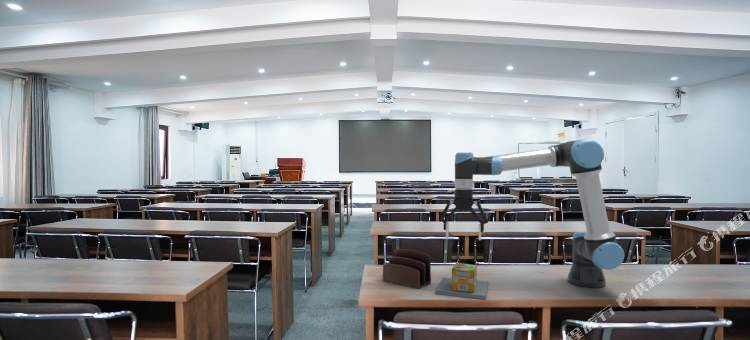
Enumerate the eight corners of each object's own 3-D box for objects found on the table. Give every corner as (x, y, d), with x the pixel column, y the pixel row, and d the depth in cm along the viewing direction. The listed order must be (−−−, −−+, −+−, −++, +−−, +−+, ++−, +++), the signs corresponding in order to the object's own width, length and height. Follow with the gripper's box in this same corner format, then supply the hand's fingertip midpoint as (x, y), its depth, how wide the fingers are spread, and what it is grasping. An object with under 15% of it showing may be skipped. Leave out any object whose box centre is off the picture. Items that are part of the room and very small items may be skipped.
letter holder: (395, 276, 191) (395, 246, 191) (431, 284, 179) (431, 252, 179) (382, 280, 184) (382, 250, 183) (419, 289, 171) (419, 256, 171)
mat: (488, 285, 177) (488, 281, 177) (485, 299, 158) (485, 295, 158) (442, 280, 184) (442, 277, 184) (435, 294, 165) (435, 290, 165)
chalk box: (451, 268, 164) (456, 260, 178) (451, 290, 164) (455, 280, 178) (475, 270, 161) (477, 262, 175) (474, 293, 161) (477, 283, 175)
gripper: (432, 188, 171) (432, 238, 171) (494, 190, 163) (493, 242, 163) (435, 187, 178) (435, 235, 178) (494, 189, 170) (494, 238, 170)
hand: (463, 238), depth 171 cm, fingers open, 13 cm apart
